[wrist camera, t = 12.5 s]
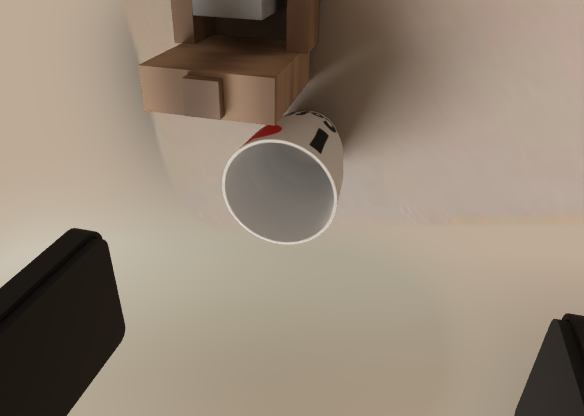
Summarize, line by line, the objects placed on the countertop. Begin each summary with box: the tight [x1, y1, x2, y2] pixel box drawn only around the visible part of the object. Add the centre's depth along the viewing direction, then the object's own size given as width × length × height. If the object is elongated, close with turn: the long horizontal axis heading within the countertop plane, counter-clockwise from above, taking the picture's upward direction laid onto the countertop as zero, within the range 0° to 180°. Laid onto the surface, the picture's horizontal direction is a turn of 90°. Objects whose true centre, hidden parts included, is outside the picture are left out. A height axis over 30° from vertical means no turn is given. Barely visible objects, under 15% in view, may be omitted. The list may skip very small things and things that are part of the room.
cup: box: [222, 111, 343, 244], centre depth 37 cm, size 8×8×10 cm
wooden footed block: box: [138, 0, 320, 126], centre depth 33 cm, size 10×8×11 cm
